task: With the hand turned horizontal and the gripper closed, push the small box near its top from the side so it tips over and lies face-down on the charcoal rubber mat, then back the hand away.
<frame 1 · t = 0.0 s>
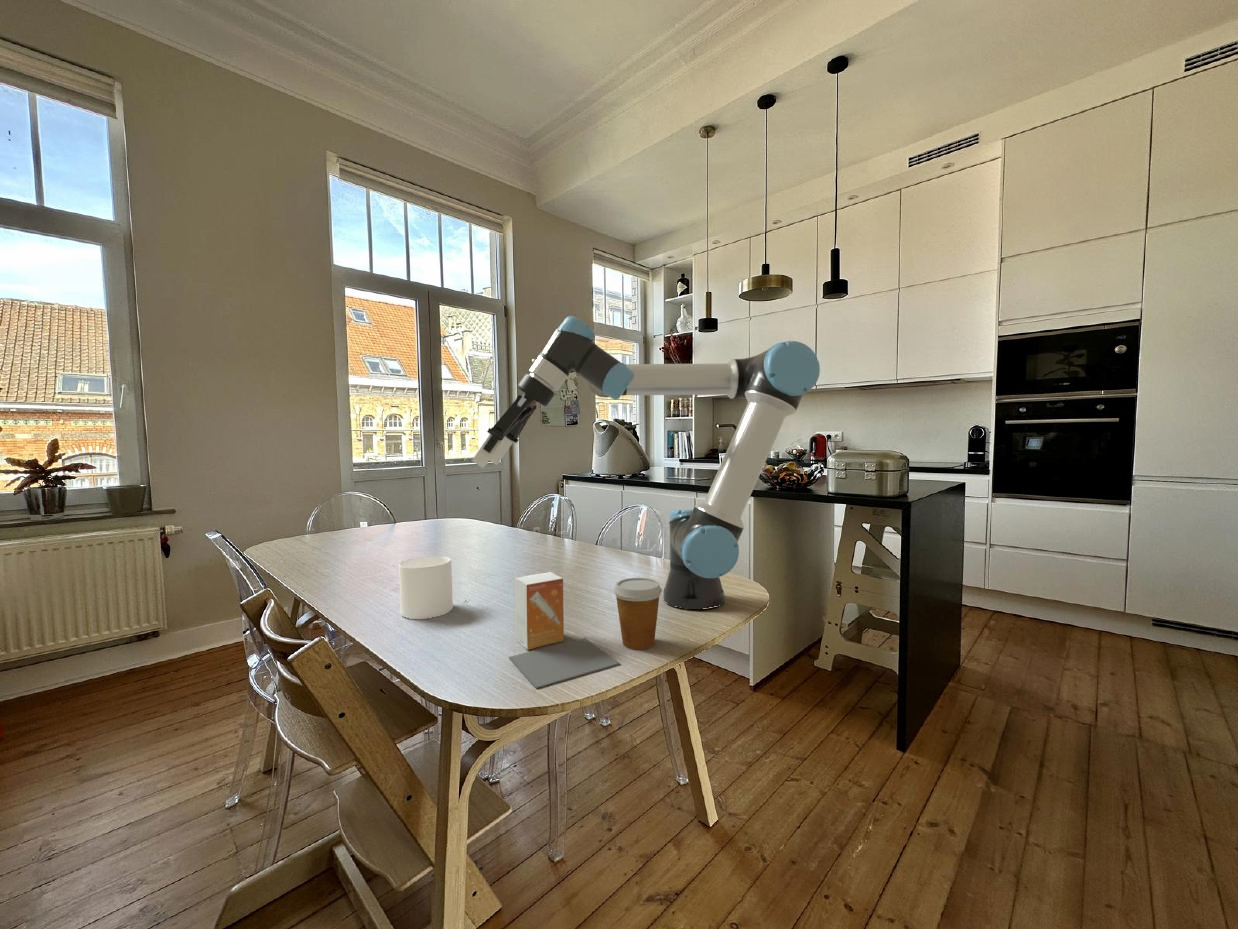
hand: (485, 463, 105), 36 cm above the table, tool tilted 35°, fingers open, 13 cm apart
white cylinder: (427, 611, 118), on the table
rubber mat: (563, 661, 89), on the table
disposable coffee cup: (638, 644, 97), on the table
small box: (539, 641, 99), on the table
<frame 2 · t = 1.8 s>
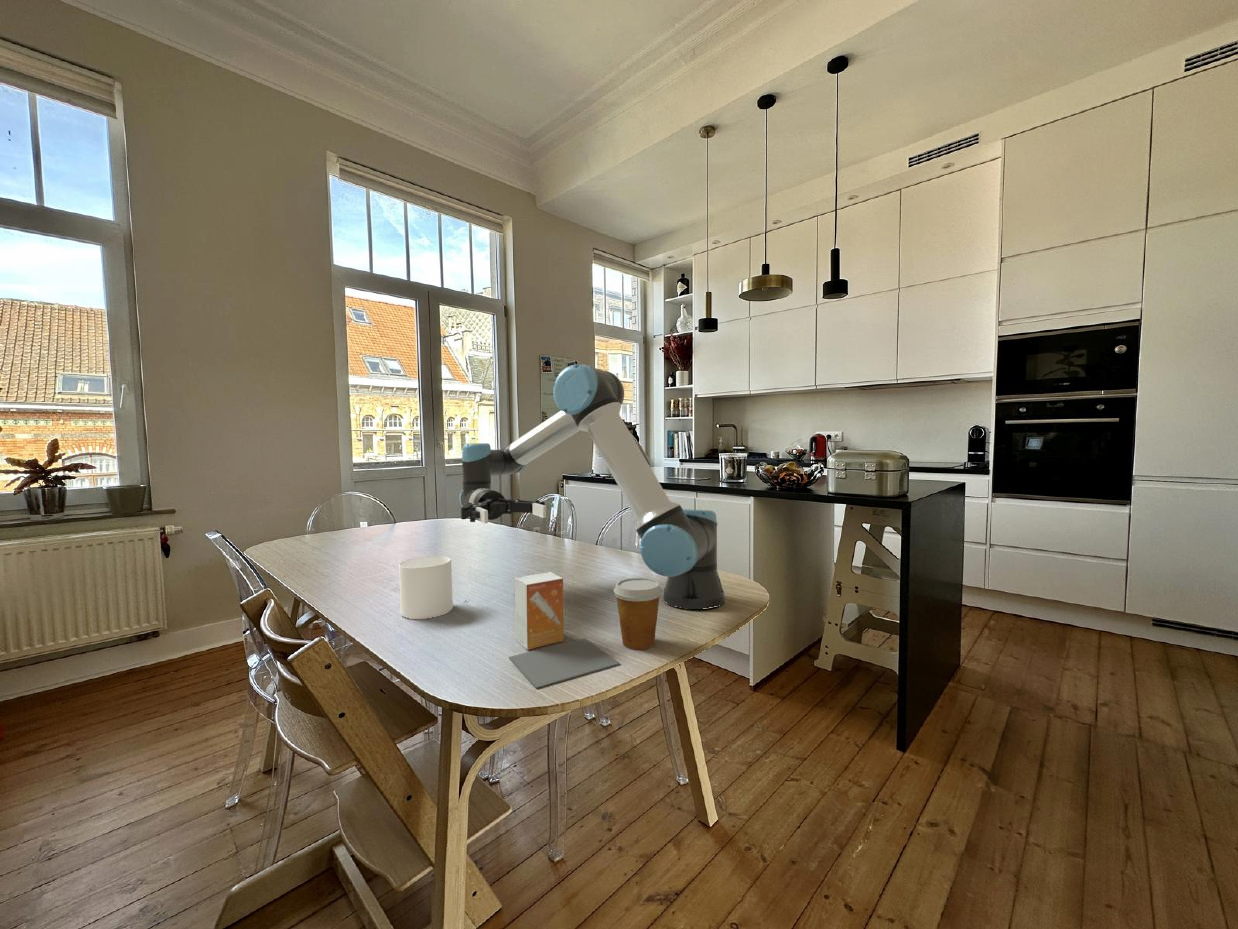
hand: (516, 514, 108), 24 cm above the table, tool horizontal, fingers open, 13 cm apart
nothing on the table moved.
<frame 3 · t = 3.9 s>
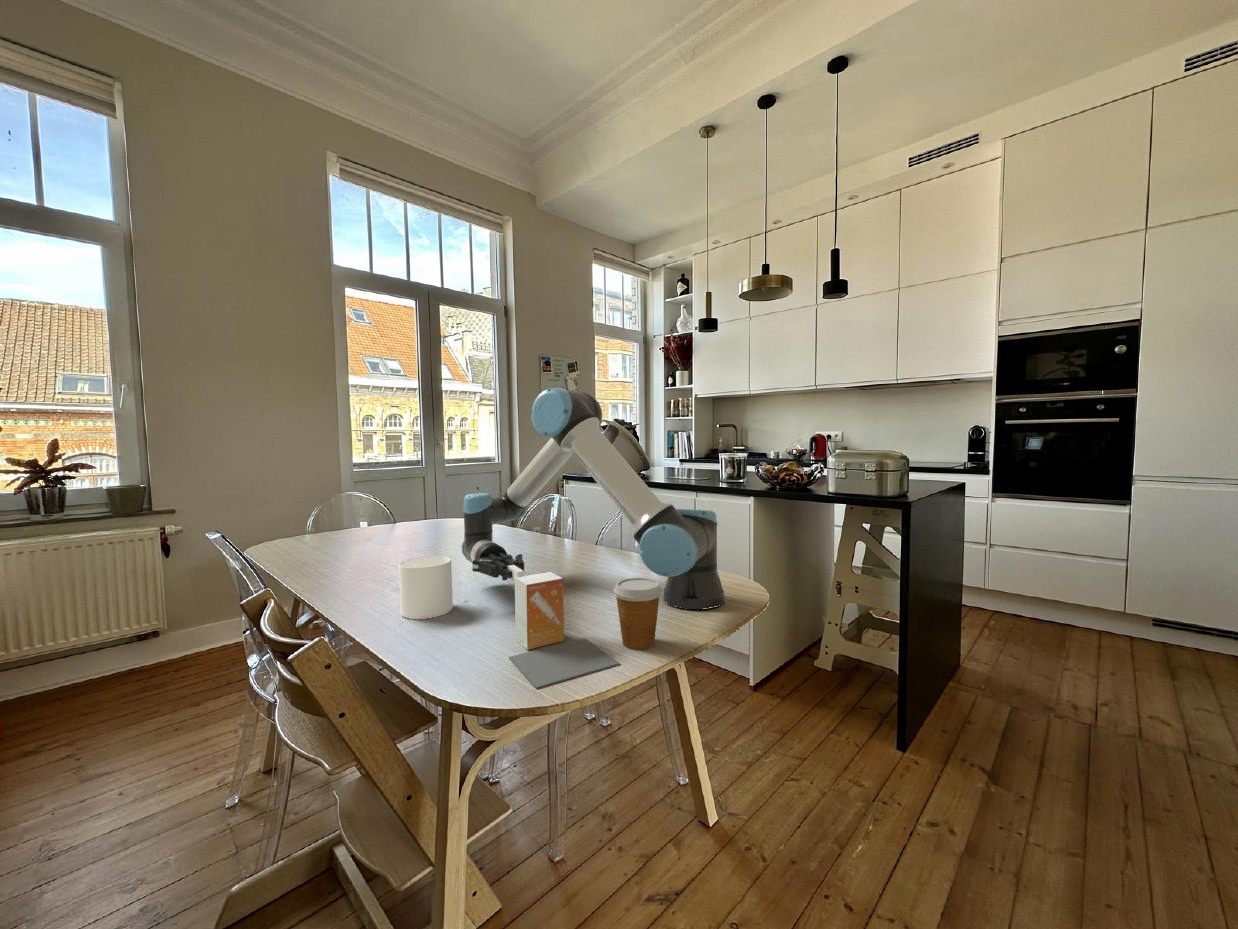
hand: (520, 577, 108), 11 cm above the table, tool horizontal, fingers closed
nothing on the table moved.
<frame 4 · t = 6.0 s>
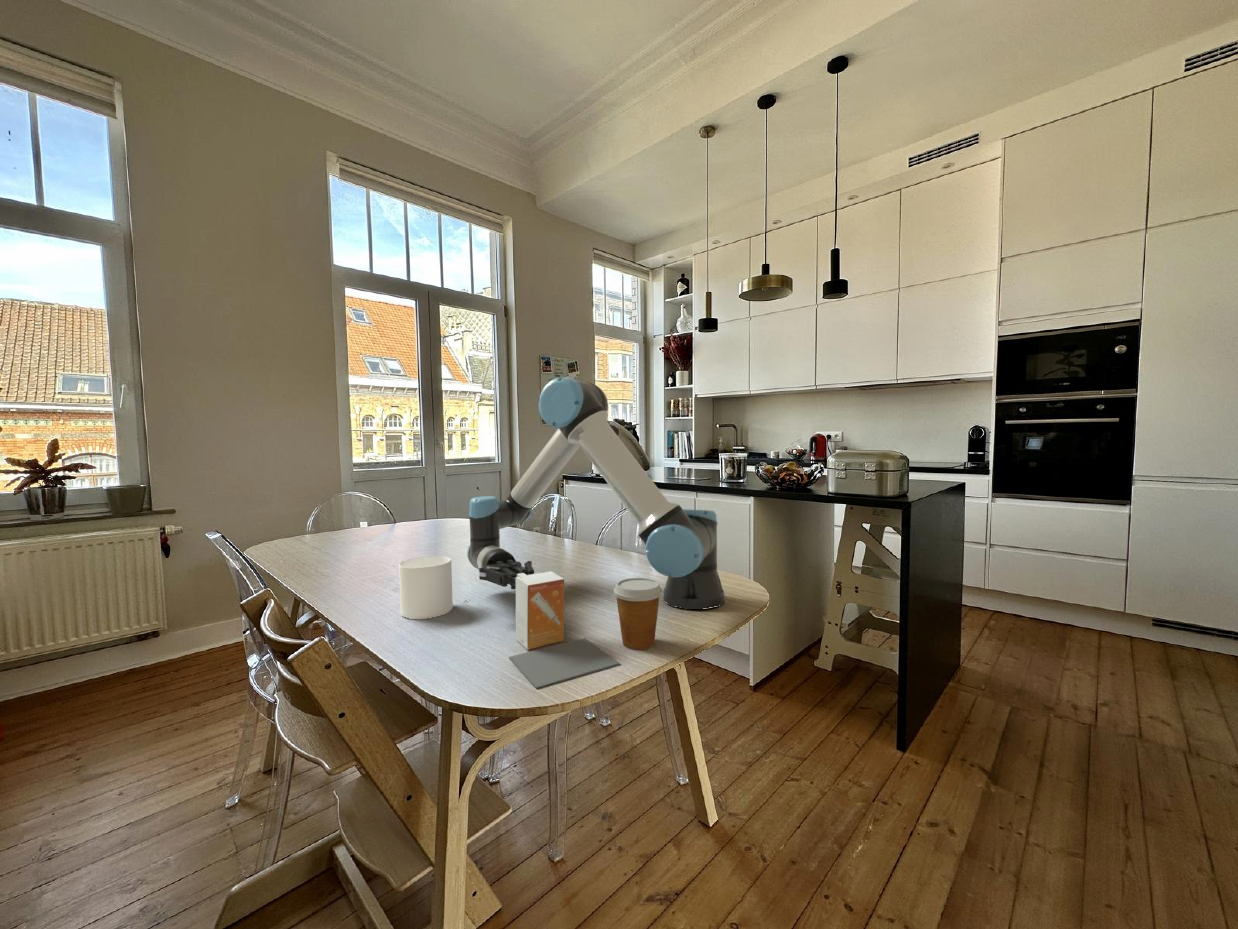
hand: (531, 586, 101), 10 cm above the table, tool horizontal, fingers closed
small box: (539, 641, 99), on the table, touching gripper
everything else where it was.
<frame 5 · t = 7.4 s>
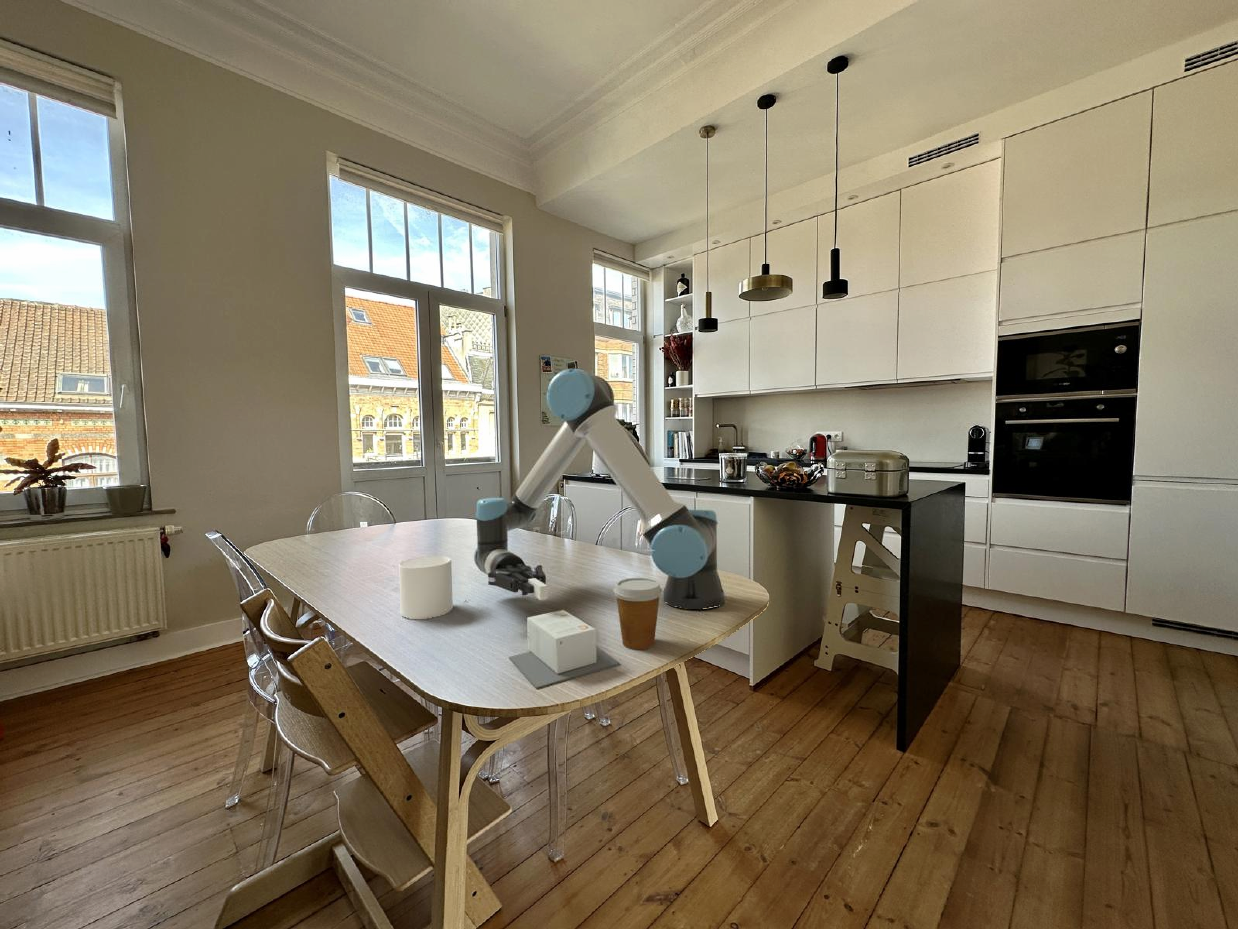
hand: (543, 592, 96), 10 cm above the table, tool horizontal, fingers closed
small box: (545, 628, 97), point 3 cm above the table, touching rubber mat
everything else where it was.
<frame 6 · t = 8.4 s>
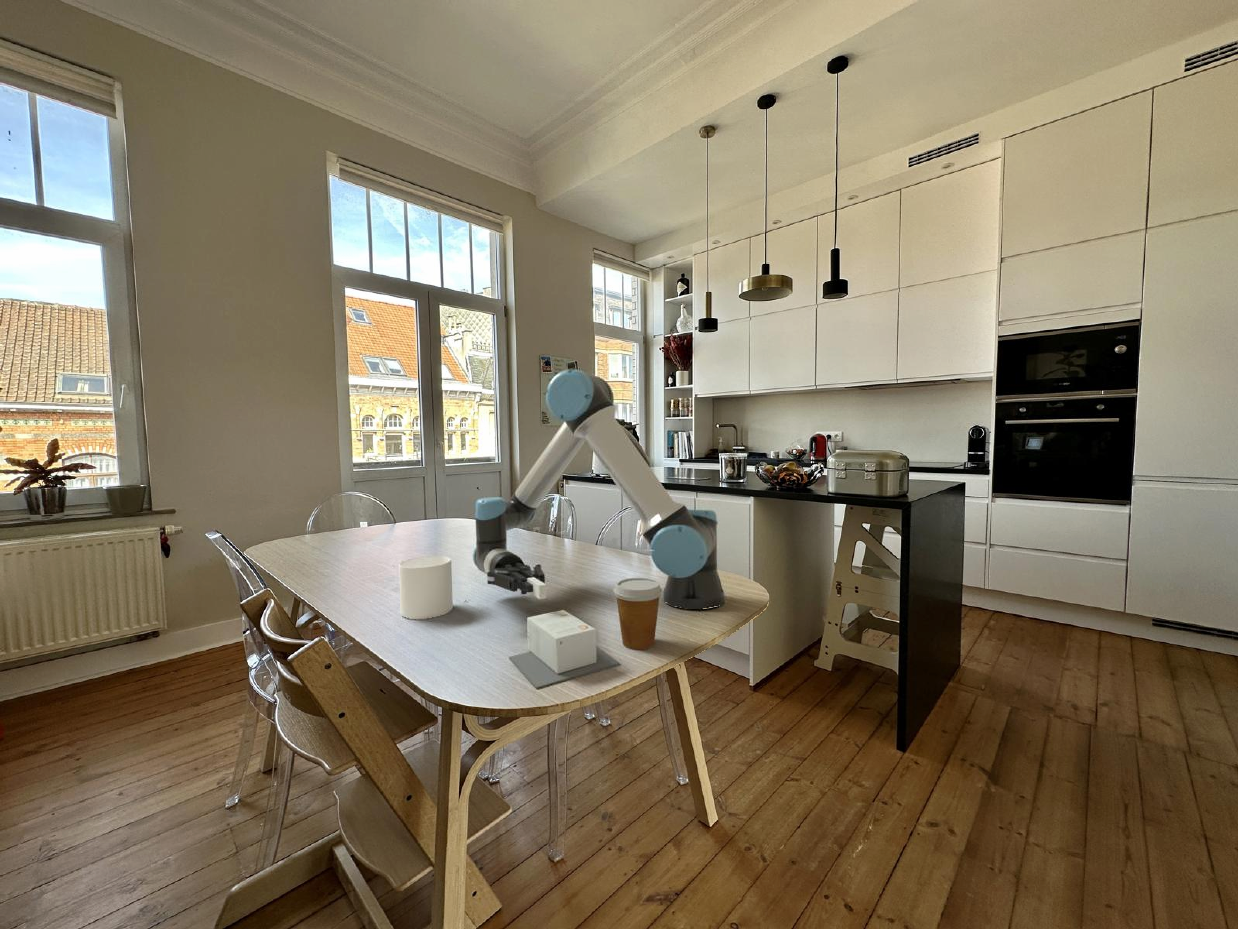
hand: (542, 591, 97), 11 cm above the table, tool horizontal, fingers closed
nothing on the table moved.
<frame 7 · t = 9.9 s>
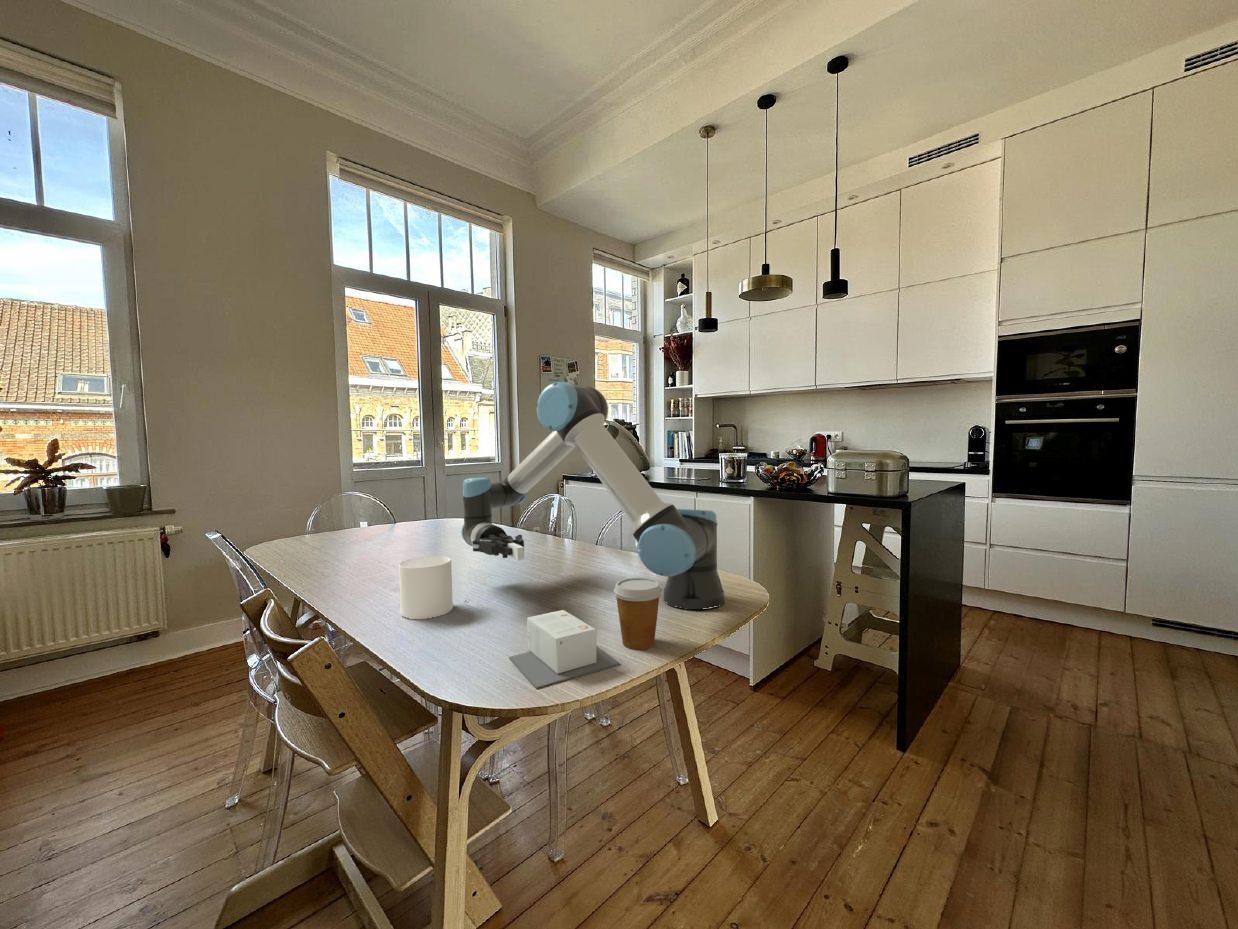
hand: (520, 553, 109), 16 cm above the table, tool horizontal, fingers closed
nothing on the table moved.
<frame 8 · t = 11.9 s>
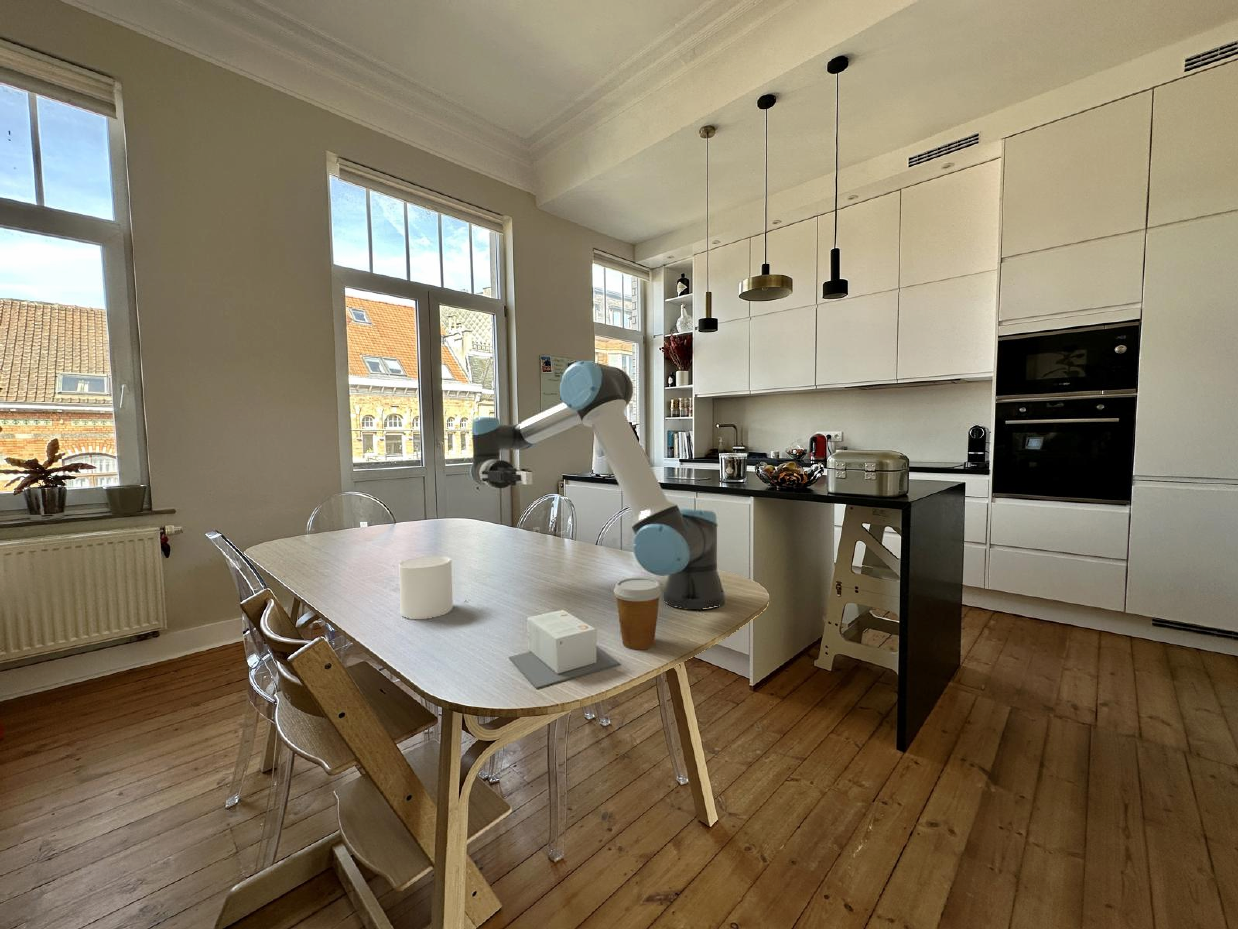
hand: (529, 478, 112), 32 cm above the table, tool horizontal, fingers closed
nothing on the table moved.
at the end: small box tilted 89°; small box touching rubber mat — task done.
